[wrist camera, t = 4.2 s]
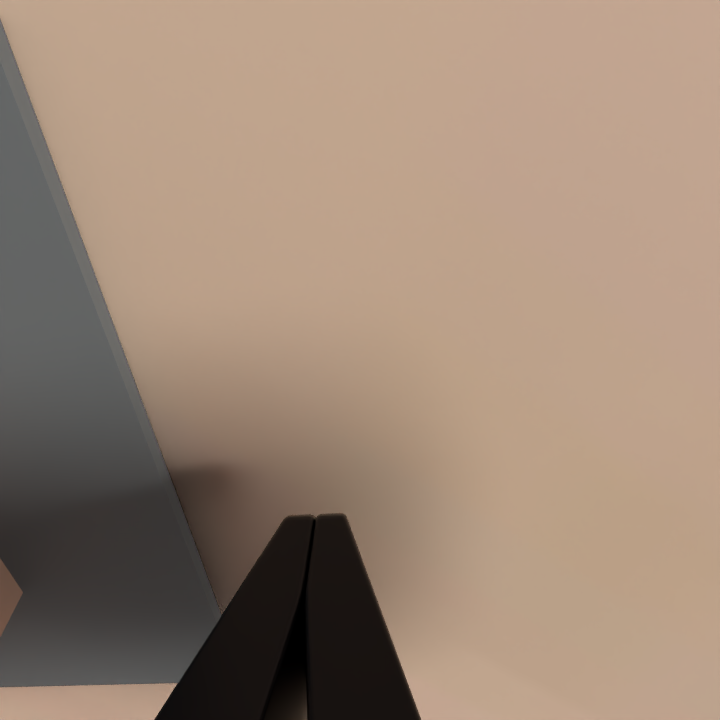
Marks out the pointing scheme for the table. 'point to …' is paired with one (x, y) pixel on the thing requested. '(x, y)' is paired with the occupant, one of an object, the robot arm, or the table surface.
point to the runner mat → (79, 455)
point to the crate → (7, 596)
